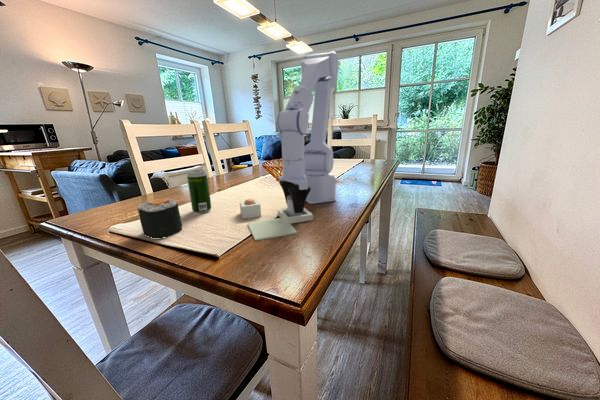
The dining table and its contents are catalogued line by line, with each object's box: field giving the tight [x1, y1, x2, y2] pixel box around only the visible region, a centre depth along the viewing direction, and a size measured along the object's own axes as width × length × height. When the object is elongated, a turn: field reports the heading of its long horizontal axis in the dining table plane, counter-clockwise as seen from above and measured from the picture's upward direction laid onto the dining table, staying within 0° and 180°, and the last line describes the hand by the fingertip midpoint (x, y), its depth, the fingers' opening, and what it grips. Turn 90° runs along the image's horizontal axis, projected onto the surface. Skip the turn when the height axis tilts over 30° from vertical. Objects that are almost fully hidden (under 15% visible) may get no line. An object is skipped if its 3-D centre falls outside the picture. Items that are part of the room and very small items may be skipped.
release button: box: [244, 198, 255, 205], centre depth 70 cm, size 2×2×2 cm
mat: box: [247, 217, 298, 242], centre depth 61 cm, size 10×10×1 cm
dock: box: [277, 207, 314, 225], centre depth 68 cm, size 8×8×2 cm
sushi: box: [136, 198, 183, 239], centre depth 60 cm, size 8×8×8 cm
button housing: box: [239, 199, 262, 219], centre depth 70 cm, size 5×5×4 cm
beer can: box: [186, 169, 212, 215], centre depth 73 cm, size 5×5×12 cm
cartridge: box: [286, 195, 303, 217], centre depth 67 cm, size 4×4×6 cm
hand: (294, 208), depth 67 cm, fingers open, 6 cm apart
